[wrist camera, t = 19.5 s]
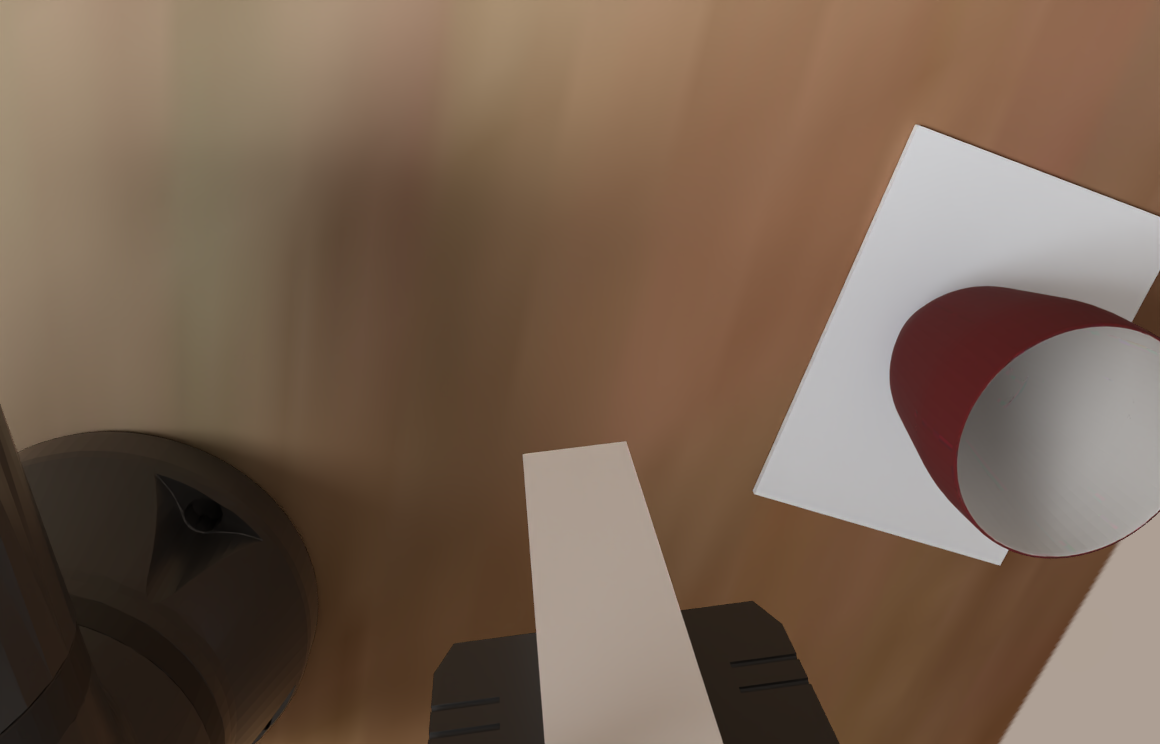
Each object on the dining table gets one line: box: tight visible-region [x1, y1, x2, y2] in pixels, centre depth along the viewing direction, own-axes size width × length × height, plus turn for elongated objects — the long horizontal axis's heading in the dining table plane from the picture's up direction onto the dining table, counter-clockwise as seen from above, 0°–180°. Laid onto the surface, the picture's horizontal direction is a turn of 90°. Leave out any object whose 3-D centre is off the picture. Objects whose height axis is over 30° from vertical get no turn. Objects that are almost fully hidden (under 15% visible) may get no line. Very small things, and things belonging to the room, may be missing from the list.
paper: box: [753, 124, 1160, 565], centre depth 41 cm, size 16×12×1 cm
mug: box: [889, 286, 1160, 558], centre depth 36 cm, size 10×8×10 cm
